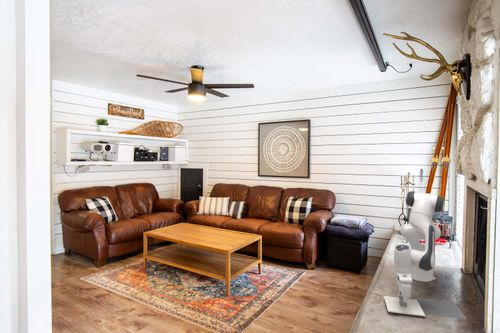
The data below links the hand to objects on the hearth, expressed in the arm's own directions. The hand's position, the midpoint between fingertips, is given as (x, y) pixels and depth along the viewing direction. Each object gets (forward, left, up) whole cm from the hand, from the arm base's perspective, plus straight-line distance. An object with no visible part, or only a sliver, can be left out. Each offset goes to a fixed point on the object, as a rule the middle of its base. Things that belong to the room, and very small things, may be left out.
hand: (403, 297), depth 166 cm
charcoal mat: (-6, +20, -6) cm, 22 cm away
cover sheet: (0, 0, -5) cm, 5 cm away
